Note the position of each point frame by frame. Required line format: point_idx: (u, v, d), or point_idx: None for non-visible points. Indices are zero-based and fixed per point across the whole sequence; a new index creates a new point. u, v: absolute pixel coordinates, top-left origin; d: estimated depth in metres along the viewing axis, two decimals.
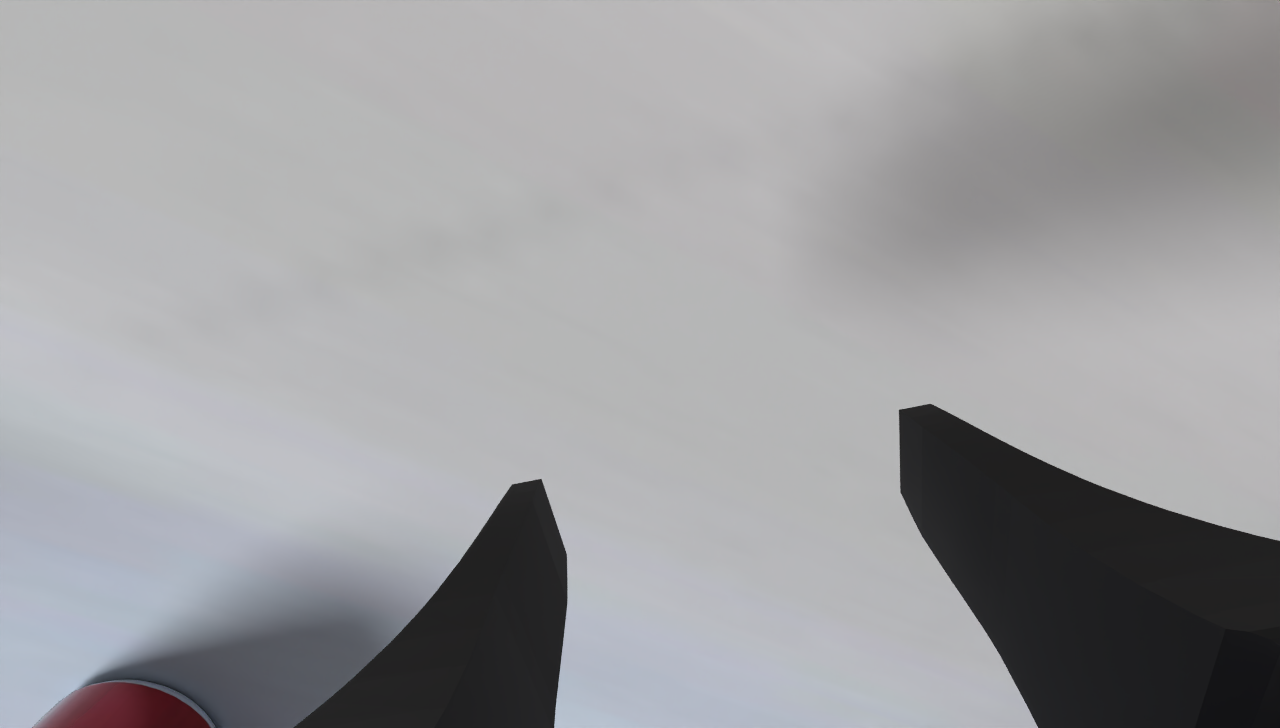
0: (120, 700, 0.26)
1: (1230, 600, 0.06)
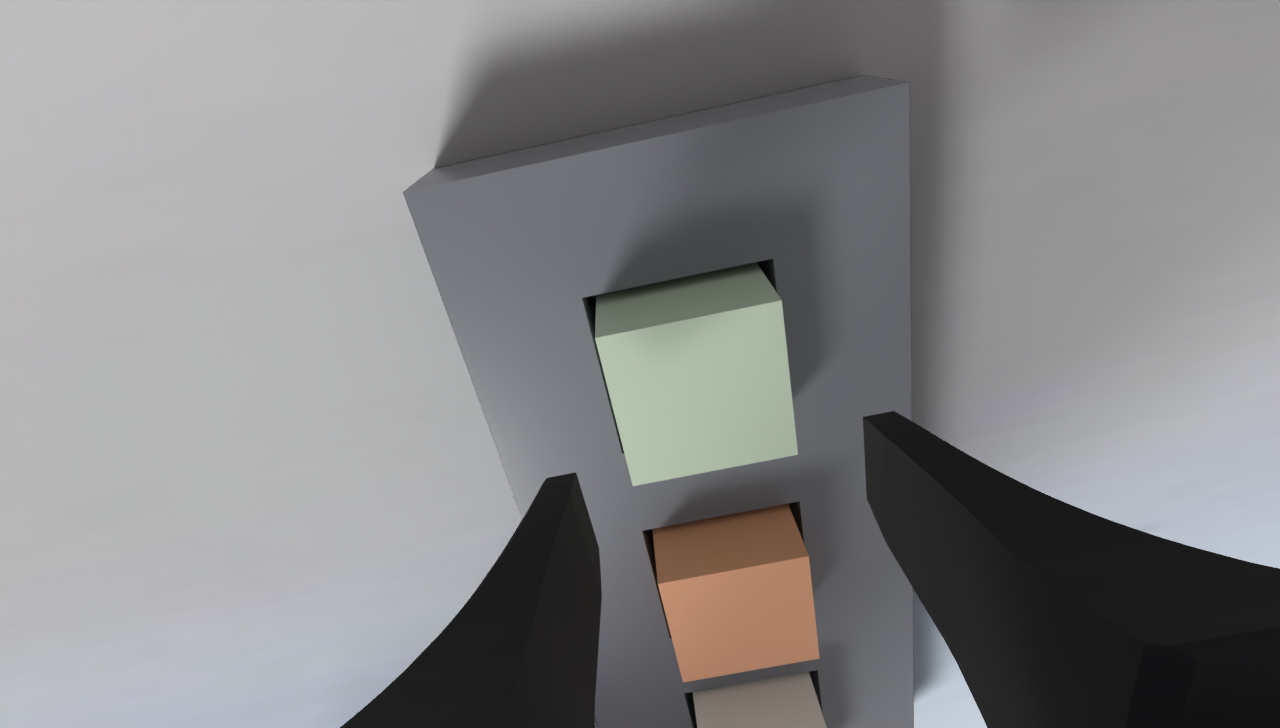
0: None
1: (1154, 613, 0.06)
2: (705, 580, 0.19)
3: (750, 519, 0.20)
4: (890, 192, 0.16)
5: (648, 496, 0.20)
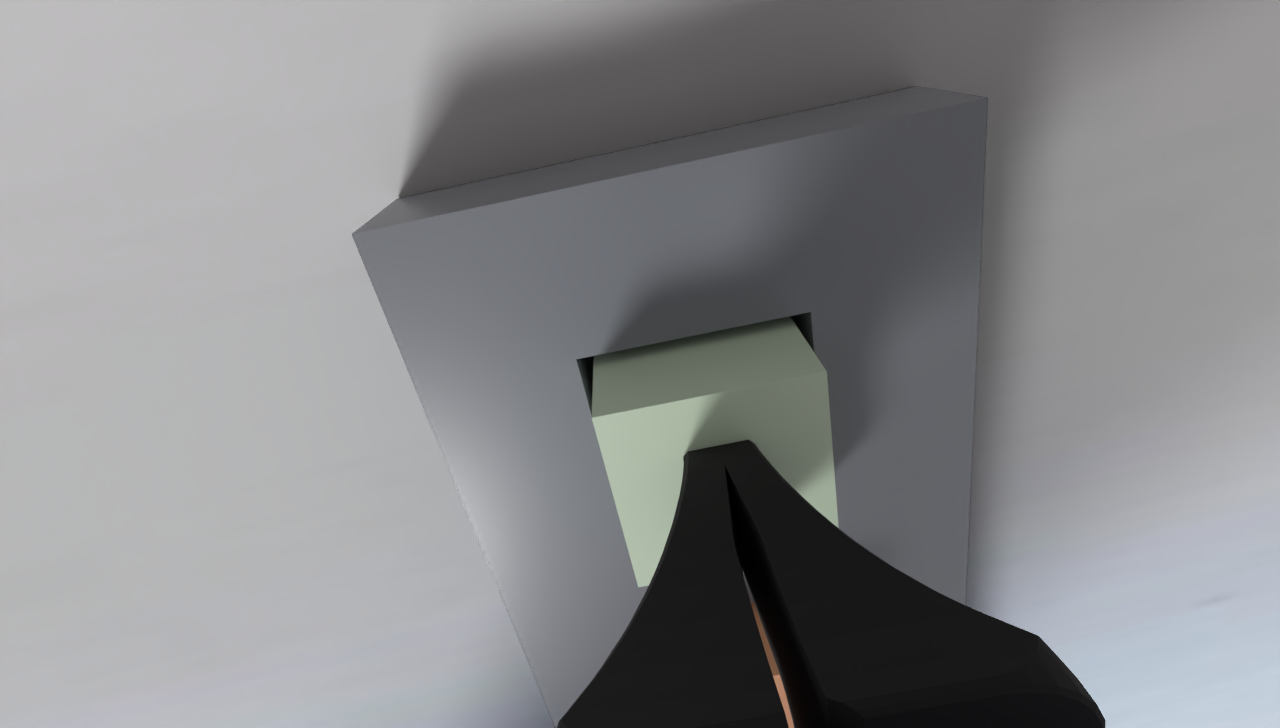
0: None
1: (859, 665, 0.06)
2: None
3: None
4: (957, 232, 0.13)
5: None
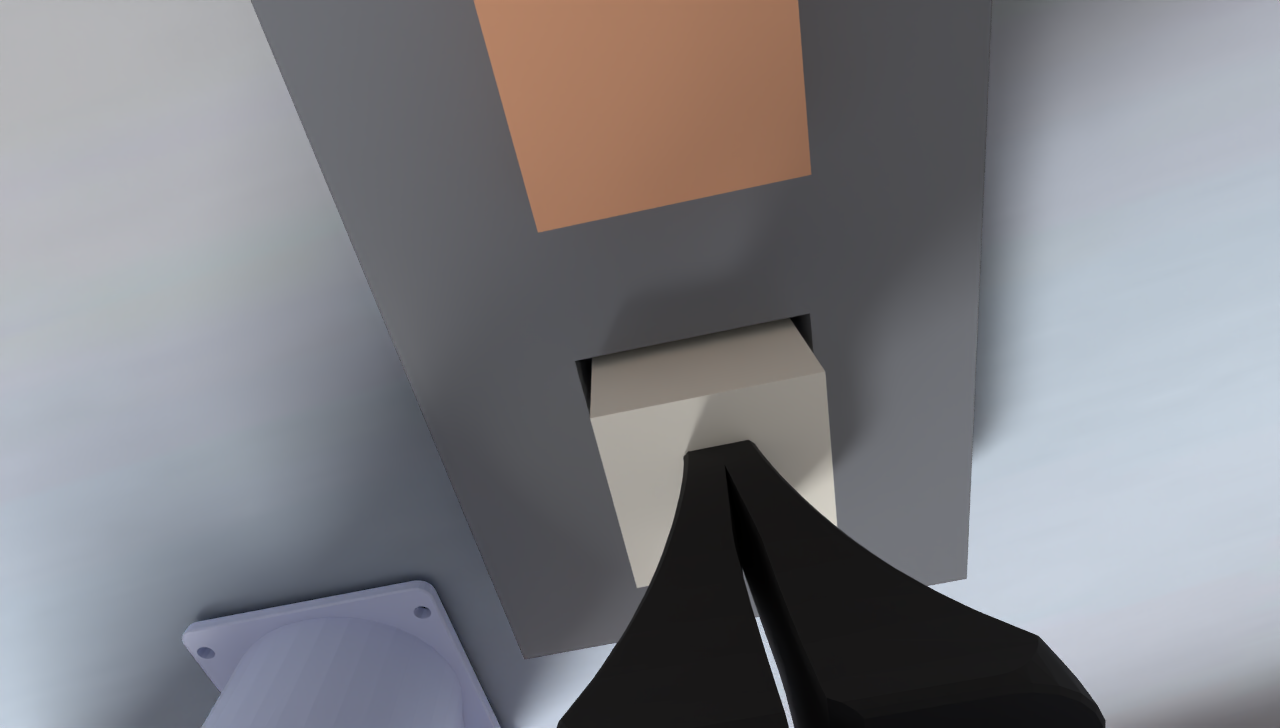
0: None
1: (859, 665, 0.06)
2: None
3: None
4: None
5: None
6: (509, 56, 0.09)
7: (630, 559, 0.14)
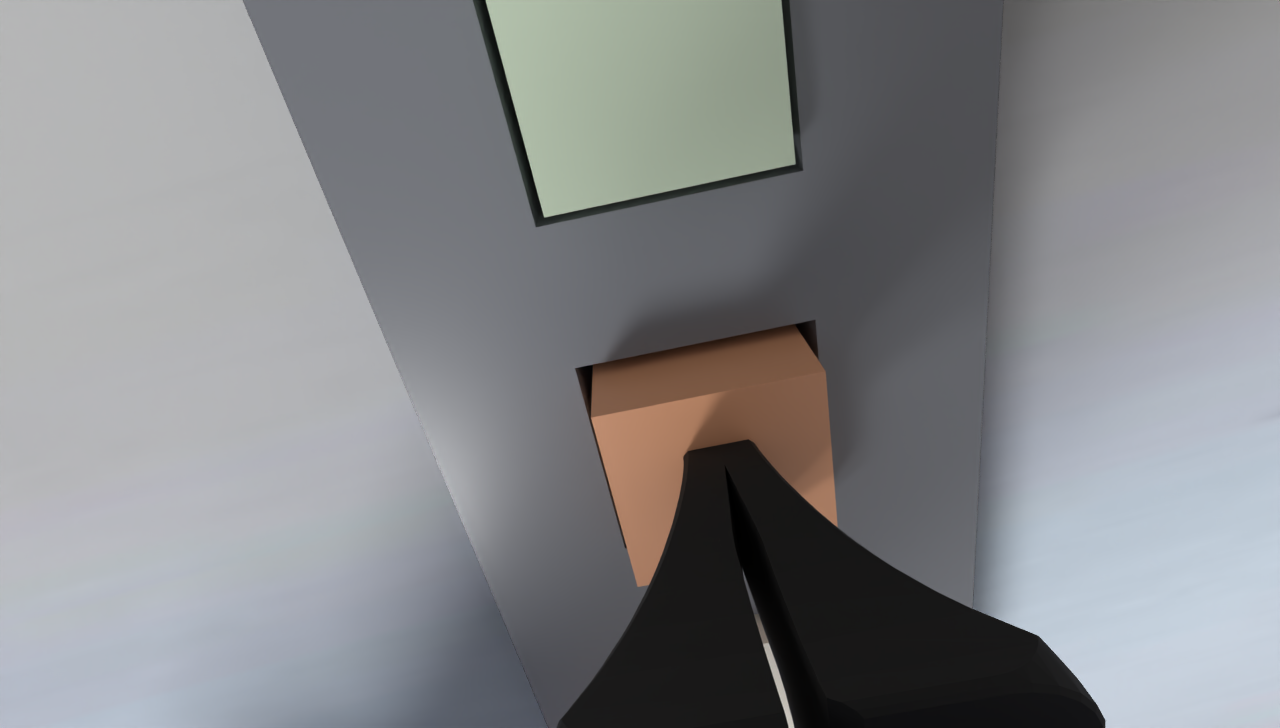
0: None
1: (859, 665, 0.06)
2: (666, 413, 0.12)
3: (736, 341, 0.14)
4: None
5: (581, 306, 0.13)
6: (626, 493, 0.13)
7: None
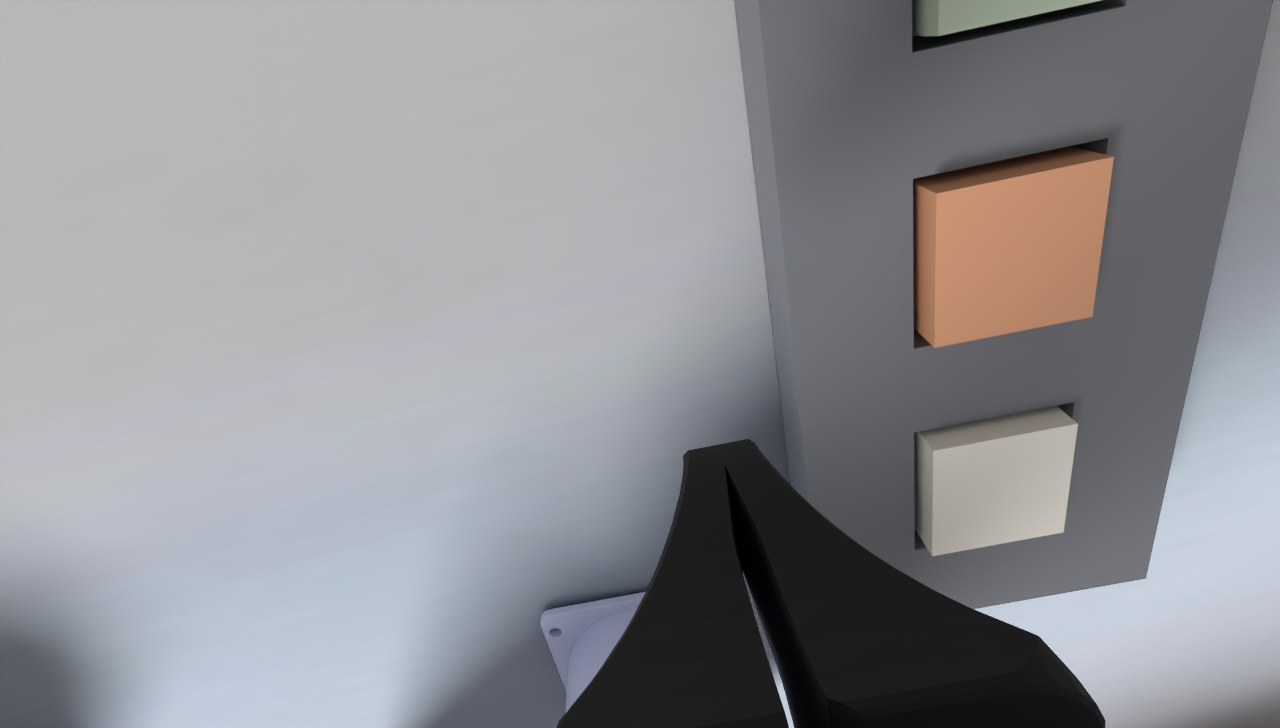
0: None
1: (859, 665, 0.06)
2: (991, 190, 0.16)
3: None
4: None
5: (930, 123, 0.16)
6: (946, 261, 0.17)
7: (933, 537, 0.21)
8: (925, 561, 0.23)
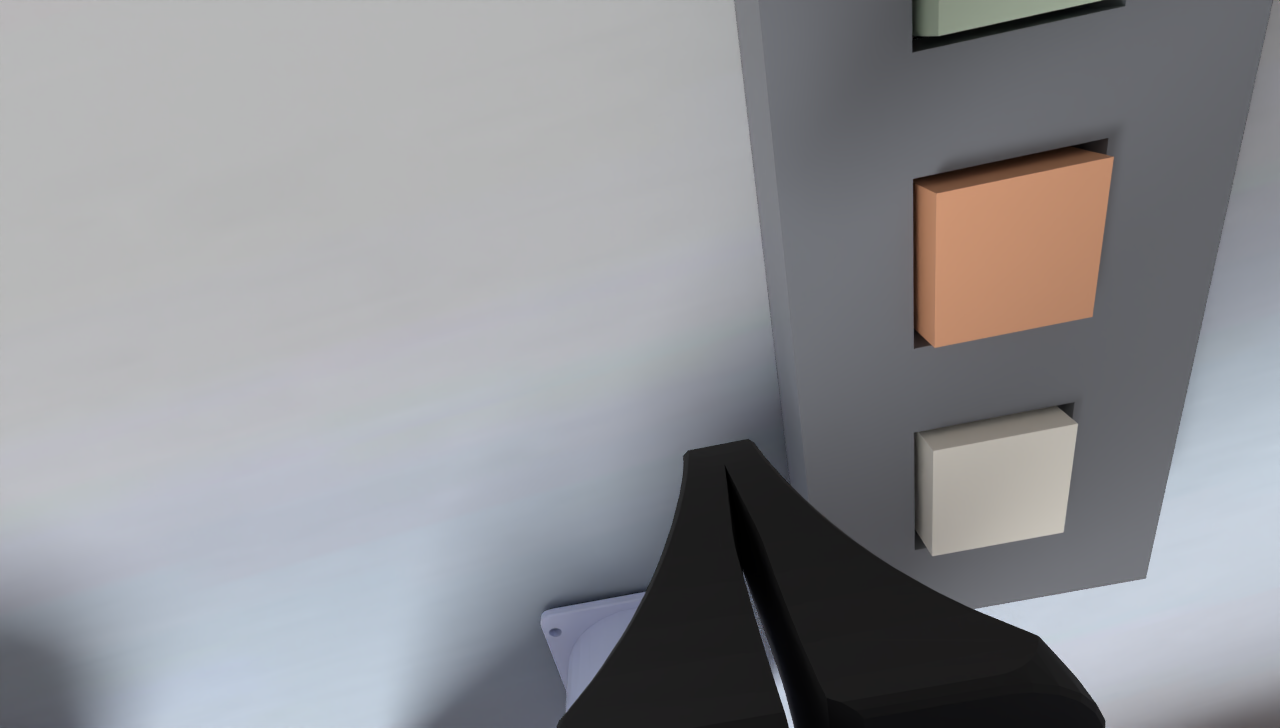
0: None
1: (859, 665, 0.06)
2: (991, 190, 0.16)
3: None
4: None
5: (930, 123, 0.16)
6: (946, 261, 0.17)
7: (933, 537, 0.21)
8: (925, 561, 0.23)
